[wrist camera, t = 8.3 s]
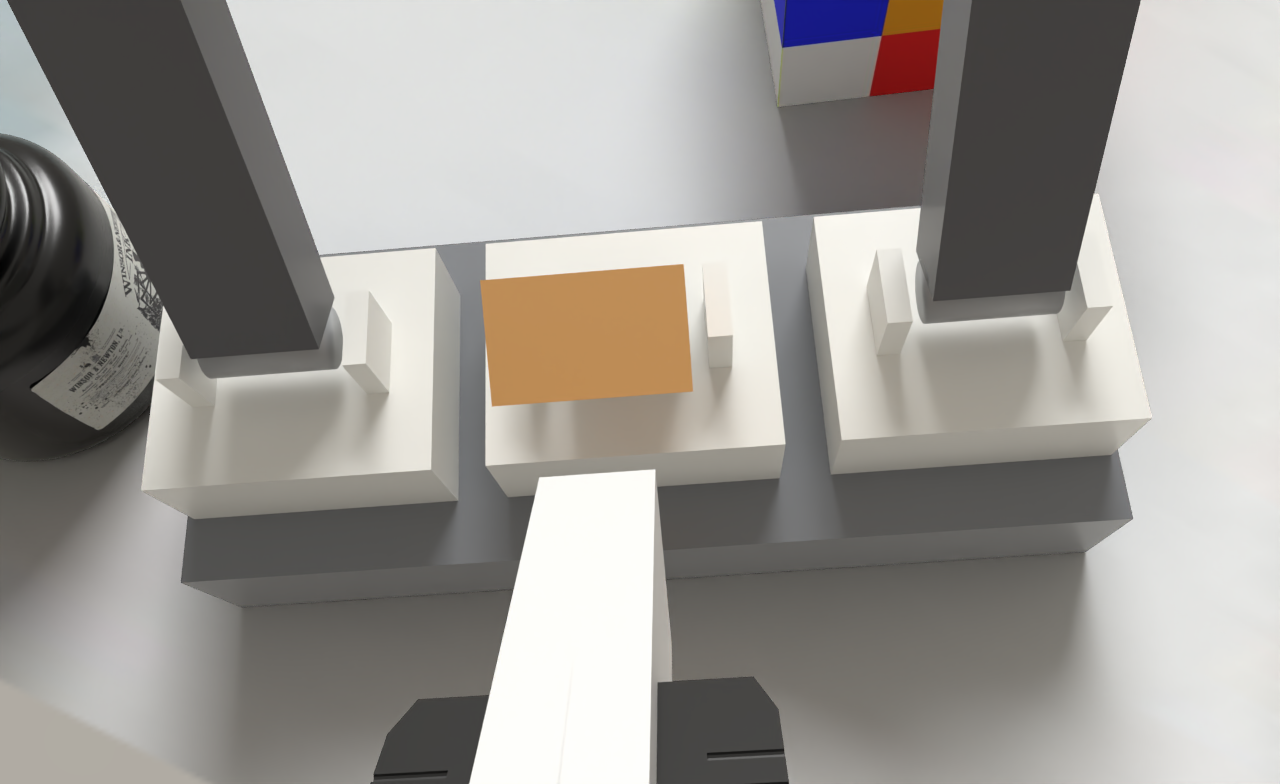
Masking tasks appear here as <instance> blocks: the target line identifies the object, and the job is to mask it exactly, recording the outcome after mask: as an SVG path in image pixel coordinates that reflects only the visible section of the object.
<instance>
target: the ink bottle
mask: <svg viewBox="0 0 1280 784" xmlns="http://www.w3.org/2000/svg"><path fill="white" fill-rule="evenodd" d="M162 312H163V304H162V302H161V300H160V298H159V296H158V294H157V292H156V290H155V288H154V286H153V284H152V282H151V280H150V278H149V277H148V275H147V273H146V271H145V269H144V267H143V265H142V263H141V261H140V259H139V257H138V255H137V253H136V251H135V249H134V247H133V245H132V243H131V241H130V239H129V237H128V236H127V234H126V232H125V230H124V228H123V226H122V224H121V222H120V220H119V218H118V216H117V214H116V212H115V210H114V209H113V208H112V207H111V206H110V205H109V204H108V203H107V202H106V201H104V200H103V199H102V198H101V197H100V196H99V195H98V194H97V193H96V192H95V191H94V190H93V189H92V188H91V187H90V186H89V185H88V184H87V183H86V182H85V181H84V180H83V179H82V178H81V177H79V176H78V175H77V174H76V173H75V172H74V171H73V170H72V169H71V168H70V167H69V166H68V165H67V164H66V163H65V162H63V161H62V160H61V159H60V158H58V157H57V156H56V155H54V154H53V153H51V152H50V151H48V150H47V149H45V148H43V147H41V146H39V145H37V144H35V143H33V142H31V141H28V140H25V139H22V138H19V137H15V136H12V135H7V134H1V133H0V458H1V459H6V460H14V461H39V460H48V459H54V458H59V457H63V456H67V455H70V454H74V453H77V452H79V451H82V450H85V449H87V448H90V447H92V446H94V445H97V444H99V443H101V442H103V441H104V440H106V439H108V438H110V437H111V436H113V435H115V434H116V433H118V432H119V431H121V430H122V429H124V428H125V427H127V426H128V425H129V424H130V423H132V422H133V421H134V420H135V419H136V418H138V417H139V416H140V415H141V414H142V413H143V412H144V411H145V410H146V409H147V408H148V407H149V405H150V404H151V402H152V394H153V386H154V378H155V369H156V361H157V353H158V345H159V336H160V328H161V320H162Z"/></svg>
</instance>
